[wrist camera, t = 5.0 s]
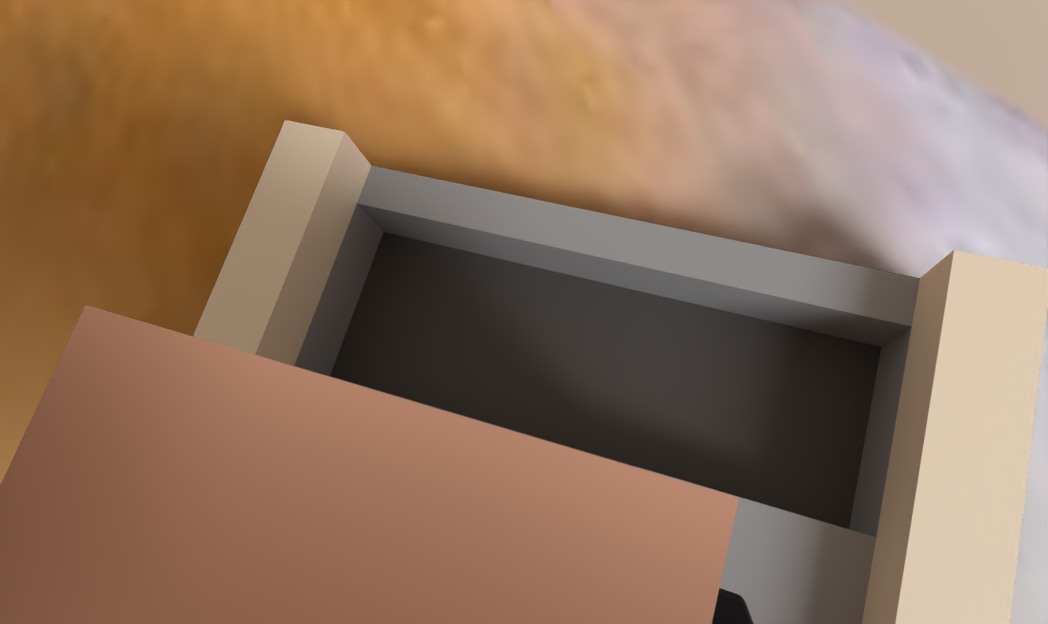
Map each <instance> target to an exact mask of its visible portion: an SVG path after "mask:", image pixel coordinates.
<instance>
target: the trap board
mask: <svg viewBox="0 0 1048 624" xmlns="http://www.w3.org/2000/svg"><path fill="white" fill-rule="evenodd" d="M1047 308H1048V268H1044V267H1039V266H1034V265H1029V264H1024V263H1019V262H1013V261H1008V260H1003V259H998V258H993V257H988V256H983V255H977V254H972V253H967V252H962V251H957V250H954V251H952V252H951V253H950V254H949V255H947V256H946V257H945V258H944V259H943V260H941V261H940V262H939V263H938V264H937V265H935V266H934V267H933V268H932V269H931V270H929V271H928V272H927V273H926V274H925V275H923V276H922V277H921V278H915V277H911V276H906V275H901V274H896V273H891V272H886V271H881V270H877V269H872V268H867V267H862V266H857V265H852V264H847V263H843V262H838V261H833V260H828V259H823V258H818V257H813V256H809V255H804V254H799V253H794V252H789V251H784V250H779V249H775V248H770V247H765V246H760V245H755V244H750V243H745V242H741V241H736V240H731V239H726V238H721V237H716V236H711V235H707V234H702V233H697V232H692V231H687V230H682V229H677V228H673V227H668V226H663V225H658V224H653V223H648V222H643V221H639V220H634V219H629V218H624V217H619V216H614V215H609V214H605V213H600V212H595V211H590V210H585V209H580V208H575V207H570V206H566V205H561V204H556V203H551V202H546V201H541V200H536V199H532V198H527V197H522V196H517V195H512V194H507V193H502V192H498V191H493V190H488V189H483V188H478V187H473V186H468V185H464V184H459V183H454V182H449V181H444V180H439V179H434V178H430V177H425V176H420V175H415V174H410V173H405V172H400V171H396V170H391V169H386V168H381V167H376V166H371V164H370V163H369V162H368V161H367V159H366V158H365V157H364V155H363V154H362V153H361V152H360V150H359V149H358V148H357V147H356V145H355V144H354V143H353V141H352V140H351V139H350V138H349V136H348V135H347V134H346V133H345V132H344V131H339V130H334V129H329V128H324V127H319V126H313V125H308V124H303V123H298V122H293V121H288V120H285V121H284V124H283V126H282V128H281V131H280V133H279V136H278V138H277V140H276V143H275V145H274V147H273V150H272V152H271V154H270V157H269V159H268V161H267V164H266V166H265V168H264V171H263V173H262V175H261V178H260V180H259V182H258V185H257V187H256V189H255V192H254V194H253V196H252V199H251V201H250V203H249V206H248V208H247V211H246V213H245V215H244V218H243V220H242V222H241V225H240V227H239V229H238V232H237V234H236V236H235V239H234V241H233V243H232V246H231V248H230V250H229V253H228V255H227V257H226V260H225V262H224V264H223V267H222V269H221V271H220V274H219V276H218V278H217V281H216V283H215V286H214V288H213V290H212V293H211V295H210V297H209V300H208V302H207V304H206V307H205V309H204V311H203V314H202V316H201V318H200V321H199V323H198V325H197V328H196V330H195V332H194V335H193V337H197V338H200V339H203V340H207V341H210V342H214V343H217V344H220V345H224V346H227V347H230V348H234V349H237V350H241V351H244V352H247V353H251V354H254V355H258V356H261V357H264V358H268V359H271V360H274V361H278V362H281V363H285V364H288V365H291V366H295V367H298V368H301V369H305V370H308V371H312V372H315V373H318V374H322V375H325V376H329V377H332V378H335V379H339V380H342V381H345V382H349V383H352V384H356V385H359V386H362V387H366V388H369V389H373V390H376V391H379V392H383V393H386V394H389V395H393V396H396V397H400V398H403V399H406V400H410V401H413V402H416V403H420V404H423V405H427V406H430V407H433V408H437V409H440V410H444V411H447V412H450V413H454V414H457V415H460V416H464V417H467V418H471V419H474V420H477V421H481V422H484V423H487V424H491V425H494V426H498V427H501V428H504V429H508V430H511V431H515V432H518V433H521V434H525V435H528V436H531V437H535V438H538V439H542V440H545V441H548V442H552V443H555V444H558V445H562V446H565V447H569V448H572V449H575V450H579V451H582V452H586V453H589V454H592V455H596V456H599V457H602V458H606V459H609V460H613V461H616V462H619V463H623V464H626V465H630V466H633V467H636V468H640V469H643V470H646V471H650V472H653V473H657V474H660V475H663V476H667V477H670V478H673V479H677V480H680V481H684V482H687V483H690V484H694V485H697V486H701V487H704V488H707V489H711V490H714V491H717V492H721V493H724V494H728V495H731V496H734V497H738V498H739V500H738V505H737V510H736V514H735V519H734V523H733V528H732V533H731V537H730V542H729V546H728V551H727V556H726V560H725V565H724V569H723V574H722V579H721V583H720V588H721V589H724V590H727V591H730V592H733V593H736V594H738V595H740V596H741V597H742V598H743V599H744V600H745V602H746V604H747V607H748V609H749V612H750V615H751V617H752V620H753V623H754V624H1010V617H1011V608H1012V600H1013V592H1014V583H1015V575H1016V567H1017V558H1018V550H1019V542H1020V533H1021V525H1022V517H1023V508H1024V500H1025V492H1026V483H1027V475H1028V467H1029V458H1030V450H1031V442H1032V433H1033V425H1034V417H1035V408H1036V400H1037V392H1038V383H1039V375H1040V367H1041V358H1042V350H1043V342H1044V334H1045V325H1046V317H1047Z"/></svg>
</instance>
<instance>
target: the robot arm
mask: <svg viewBox="0 0 1048 624" xmlns="http://www.w3.org/2000/svg"><path fill="white" fill-rule="evenodd" d="M712 624H754V623H753V620H752V617H751V615H750V612H749V609H748V607H747V604H746V602H745V600H744V599H743V598H742V597H741V596H740V595H738V594H736V593H733V592H730V591H727V590H724V589H721V588H719V592H718V597H717V602H716V606H715V611H714V615H713V620H712Z"/></svg>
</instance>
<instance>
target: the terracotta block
mask: <svg viewBox="0 0 1048 624" xmlns="http://www.w3.org/2000/svg"><path fill="white" fill-rule="evenodd" d="M738 500H739V498H738V497H734V496H731V495H728V494H724V493H721V492H717V491H714V490H711V489H707V488H704V487H701V486H697V485H694V484H690V483H687V482H684V481H680V480H677V479H673V478H670V477H667V476H663V475H660V474H657V473H653V472H650V471H646V470H643V469H640V468H636V467H633V466H630V465H626V464H623V463H619V462H616V461H613V460H609V459H606V458H602V457H599V456H596V455H592V454H589V453H586V452H582V451H579V450H575V449H572V448H569V447H565V446H562V445H558V444H555V443H552V442H548V441H545V440H542V439H538V438H535V437H531V436H528V435H525V434H521V433H518V432H515V431H511V430H508V429H504V428H501V427H498V426H494V425H491V424H487V423H484V422H481V421H477V420H474V419H471V418H467V417H464V416H460V415H457V414H454V413H450V412H447V411H444V410H440V409H437V408H433V407H430V406H427V405H423V404H420V403H416V402H413V401H410V400H406V399H403V398H400V397H396V396H393V395H389V394H386V393H383V392H379V391H376V390H373V389H369V388H366V387H362V386H359V385H356V384H352V383H349V382H345V381H342V380H339V379H335V378H332V377H329V376H325V375H322V374H318V373H315V372H312V371H308V370H305V369H301V368H298V367H295V366H291V365H288V364H285V363H281V362H278V361H274V360H271V359H268V358H264V357H261V356H258V355H254V354H251V353H247V352H244V351H241V350H237V349H234V348H230V347H227V346H224V345H220V344H217V343H214V342H210V341H207V340H203V339H200V338H197V337H193V336H190V335H187V334H183V333H180V332H176V331H173V330H170V329H166V328H163V327H159V326H156V325H153V324H149V323H146V322H143V321H139V320H136V319H132V318H129V317H126V316H122V315H119V314H116V313H112V312H109V311H105V310H102V309H99V308H95V307H92V306H88V305H85V307H84V309H83V311H82V313H81V316H80V318H79V320H78V322H77V324H76V326H75V328H74V330H73V333H72V335H71V337H70V339H69V341H68V343H67V345H66V347H65V350H64V352H63V354H62V356H61V358H60V360H59V362H58V364H57V367H56V369H55V371H54V373H53V375H52V377H51V379H50V381H49V384H48V386H47V388H46V390H45V392H44V394H43V396H42V398H41V401H40V403H39V405H38V407H37V409H36V411H35V413H34V415H33V418H32V420H31V422H30V424H29V426H28V428H27V430H26V432H25V435H24V437H23V439H22V441H21V443H20V445H19V447H18V449H17V452H16V454H15V456H14V458H13V460H12V462H11V464H10V466H9V469H8V471H7V473H6V475H5V477H4V479H3V481H2V483H1V486H0V624H712V620H713V615H714V611H715V606H716V602H717V597H718V592H719V588H720V583H721V579H722V574H723V569H724V565H725V560H726V556H727V551H728V546H729V542H730V537H731V533H732V528H733V523H734V519H735V514H736V510H737V505H738Z"/></svg>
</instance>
